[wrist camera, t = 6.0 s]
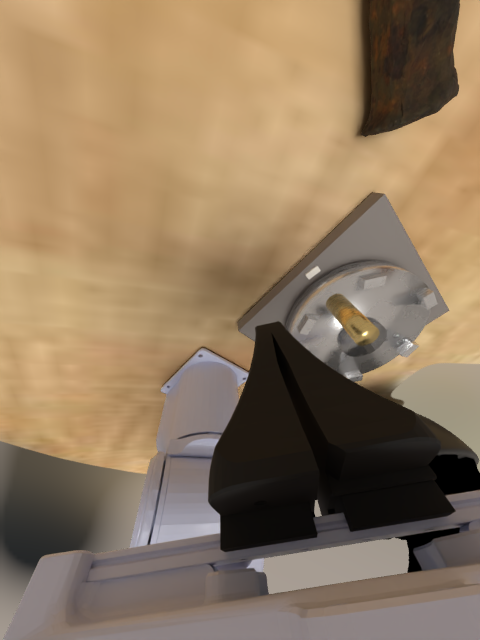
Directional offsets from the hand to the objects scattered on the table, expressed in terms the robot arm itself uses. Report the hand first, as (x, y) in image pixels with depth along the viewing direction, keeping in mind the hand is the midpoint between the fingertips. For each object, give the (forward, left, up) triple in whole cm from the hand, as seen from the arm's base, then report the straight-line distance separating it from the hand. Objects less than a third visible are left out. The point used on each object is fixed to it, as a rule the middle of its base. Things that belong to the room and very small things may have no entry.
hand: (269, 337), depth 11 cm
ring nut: (+3, -11, -8) cm, 14 cm away
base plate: (+3, -11, -9) cm, 15 cm away
